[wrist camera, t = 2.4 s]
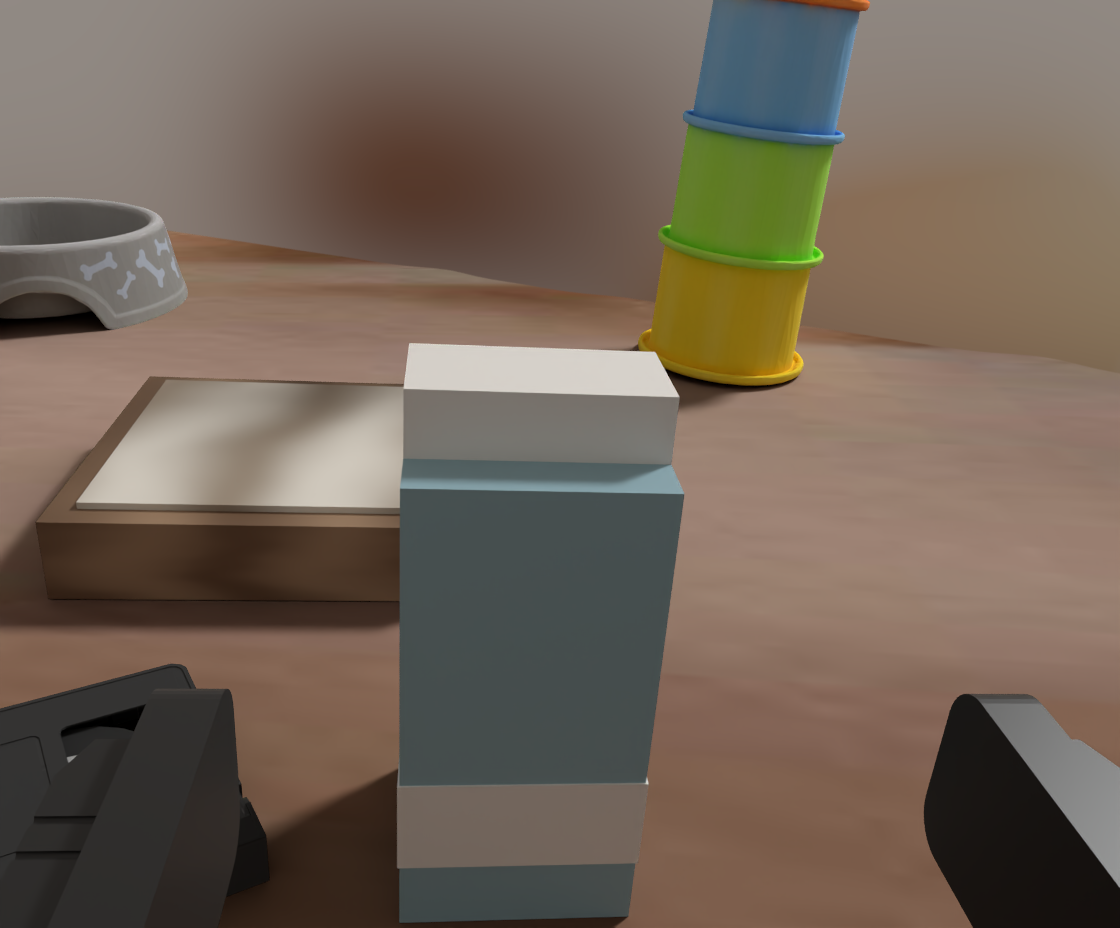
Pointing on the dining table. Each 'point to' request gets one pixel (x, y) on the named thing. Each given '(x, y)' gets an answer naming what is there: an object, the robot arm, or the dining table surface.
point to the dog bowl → (86, 261)
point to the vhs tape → (67, 729)
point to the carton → (530, 626)
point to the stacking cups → (752, 190)
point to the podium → (235, 496)
